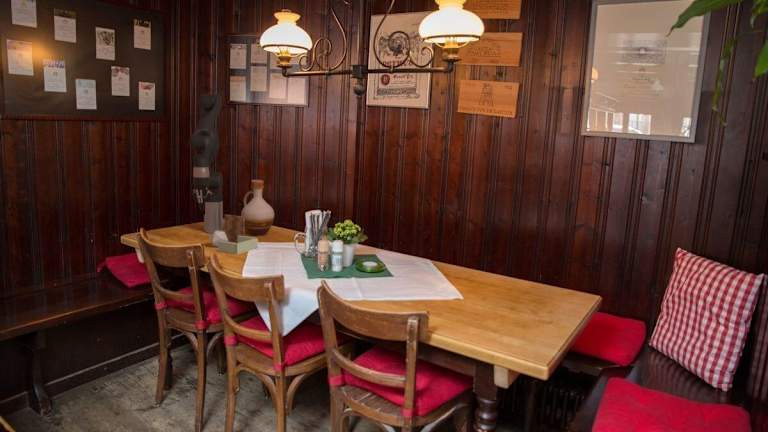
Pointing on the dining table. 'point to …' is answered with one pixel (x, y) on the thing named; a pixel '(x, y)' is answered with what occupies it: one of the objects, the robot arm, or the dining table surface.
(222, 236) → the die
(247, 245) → the tray
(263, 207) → the jug
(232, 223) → the menu board
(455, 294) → the dining table surface
